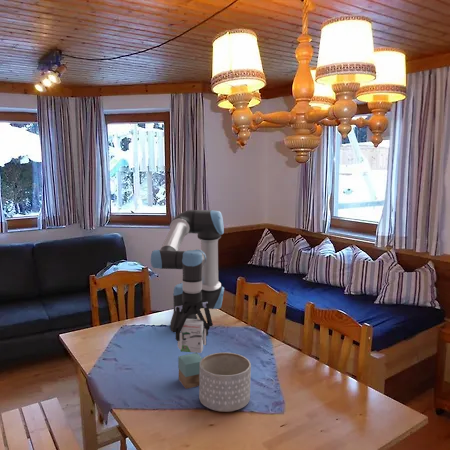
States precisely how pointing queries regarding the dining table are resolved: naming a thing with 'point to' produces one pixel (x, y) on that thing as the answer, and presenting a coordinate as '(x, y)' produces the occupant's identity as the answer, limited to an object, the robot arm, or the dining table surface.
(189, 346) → the ink box
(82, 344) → the dining table surface
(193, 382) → the tower bottom block
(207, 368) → the planter
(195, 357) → the tower top block
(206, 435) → the dining table surface
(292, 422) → the dining table surface
